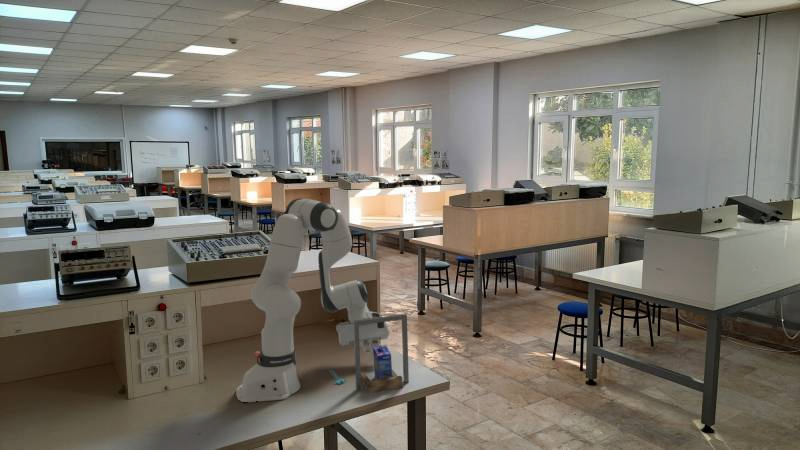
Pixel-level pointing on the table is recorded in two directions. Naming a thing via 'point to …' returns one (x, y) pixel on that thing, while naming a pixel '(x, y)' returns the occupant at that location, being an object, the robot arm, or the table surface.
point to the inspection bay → (382, 383)
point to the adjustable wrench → (337, 379)
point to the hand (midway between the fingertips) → (367, 351)
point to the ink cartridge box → (382, 362)
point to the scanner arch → (380, 324)
